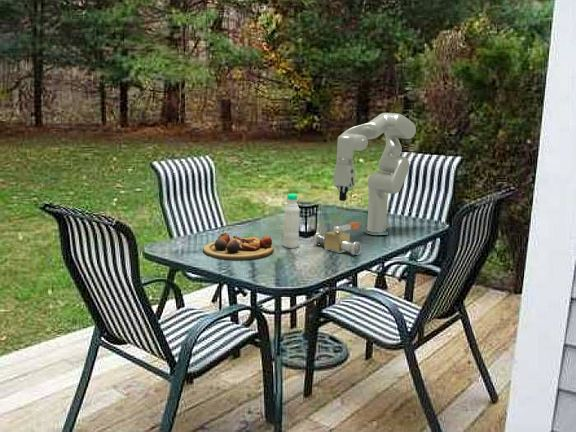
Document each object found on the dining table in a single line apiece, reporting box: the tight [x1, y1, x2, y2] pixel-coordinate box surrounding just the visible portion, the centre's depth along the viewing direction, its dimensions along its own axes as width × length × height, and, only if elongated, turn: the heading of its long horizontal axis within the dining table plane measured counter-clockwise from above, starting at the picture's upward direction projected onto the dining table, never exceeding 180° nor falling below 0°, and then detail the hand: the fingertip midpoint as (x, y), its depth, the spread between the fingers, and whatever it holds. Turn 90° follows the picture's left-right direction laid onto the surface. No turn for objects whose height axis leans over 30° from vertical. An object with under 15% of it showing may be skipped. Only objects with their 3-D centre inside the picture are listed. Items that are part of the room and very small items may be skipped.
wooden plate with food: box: [202, 232, 275, 261], centre depth 283 cm, size 32×32×8 cm
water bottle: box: [283, 193, 301, 249], centre depth 290 cm, size 7×7×25 cm
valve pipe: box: [312, 230, 363, 255], centre depth 288 cm, size 7×24×9 cm, turn 44°
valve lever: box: [333, 221, 360, 233], centre depth 291 cm, size 16×4×3 cm, turn 134°
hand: (342, 200), depth 295 cm, fingers closed
